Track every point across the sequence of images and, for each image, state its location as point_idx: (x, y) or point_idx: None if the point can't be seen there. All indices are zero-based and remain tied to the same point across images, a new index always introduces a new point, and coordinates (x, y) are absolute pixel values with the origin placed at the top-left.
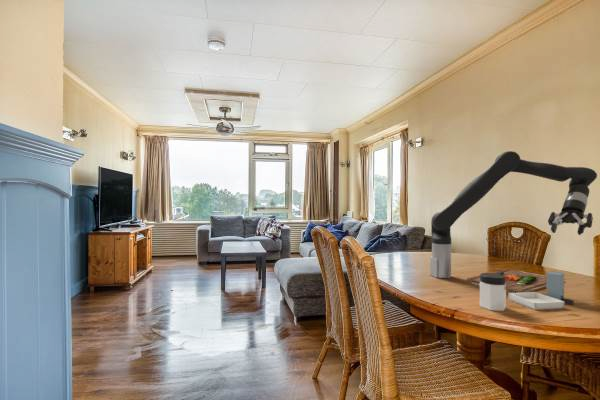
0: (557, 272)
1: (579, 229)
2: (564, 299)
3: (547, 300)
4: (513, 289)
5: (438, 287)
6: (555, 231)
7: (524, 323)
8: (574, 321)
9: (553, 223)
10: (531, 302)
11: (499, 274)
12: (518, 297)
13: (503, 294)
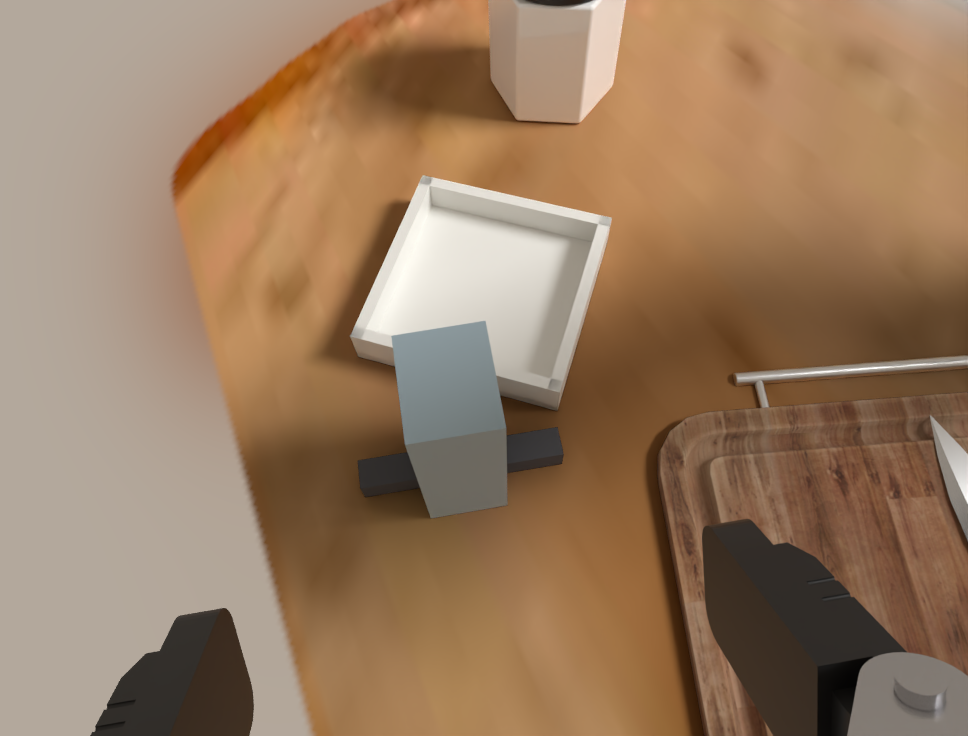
0: (450, 420)
1: (172, 652)
2: (401, 453)
3: None
4: (749, 453)
5: (946, 109)
6: (727, 649)
7: (362, 37)
8: (252, 207)
9: (893, 662)
10: (444, 181)
11: None
12: (532, 200)
13: (489, 7)
